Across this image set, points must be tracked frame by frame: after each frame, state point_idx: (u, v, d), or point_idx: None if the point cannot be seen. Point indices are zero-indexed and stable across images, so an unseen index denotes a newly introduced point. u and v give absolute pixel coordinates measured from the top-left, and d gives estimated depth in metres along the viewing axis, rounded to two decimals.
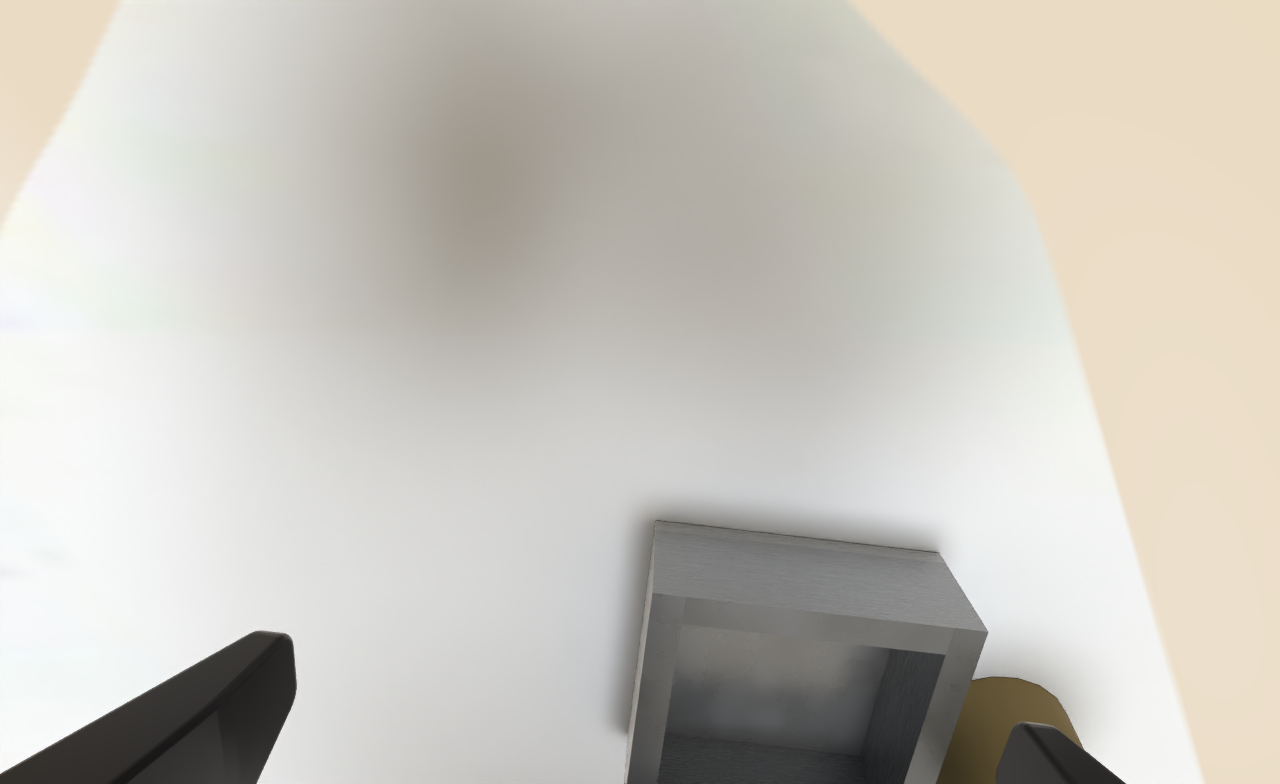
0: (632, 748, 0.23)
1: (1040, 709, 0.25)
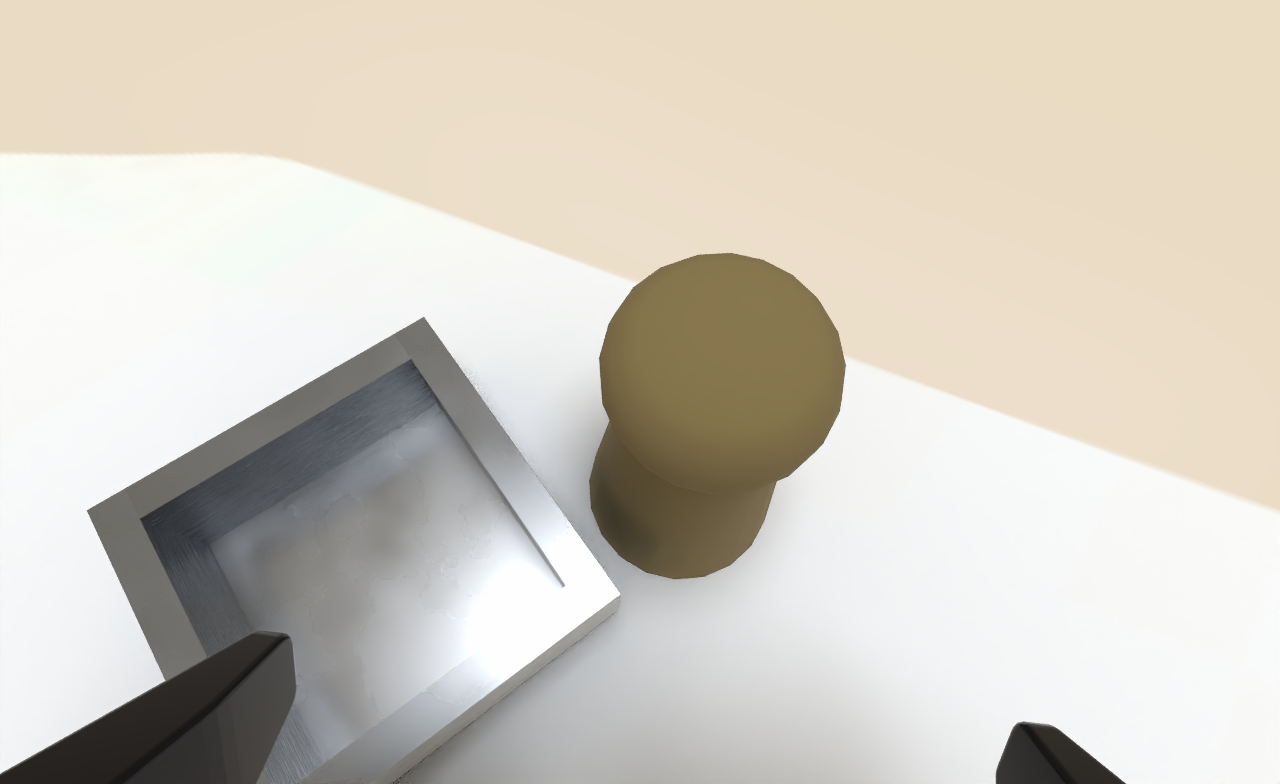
0: None
1: None
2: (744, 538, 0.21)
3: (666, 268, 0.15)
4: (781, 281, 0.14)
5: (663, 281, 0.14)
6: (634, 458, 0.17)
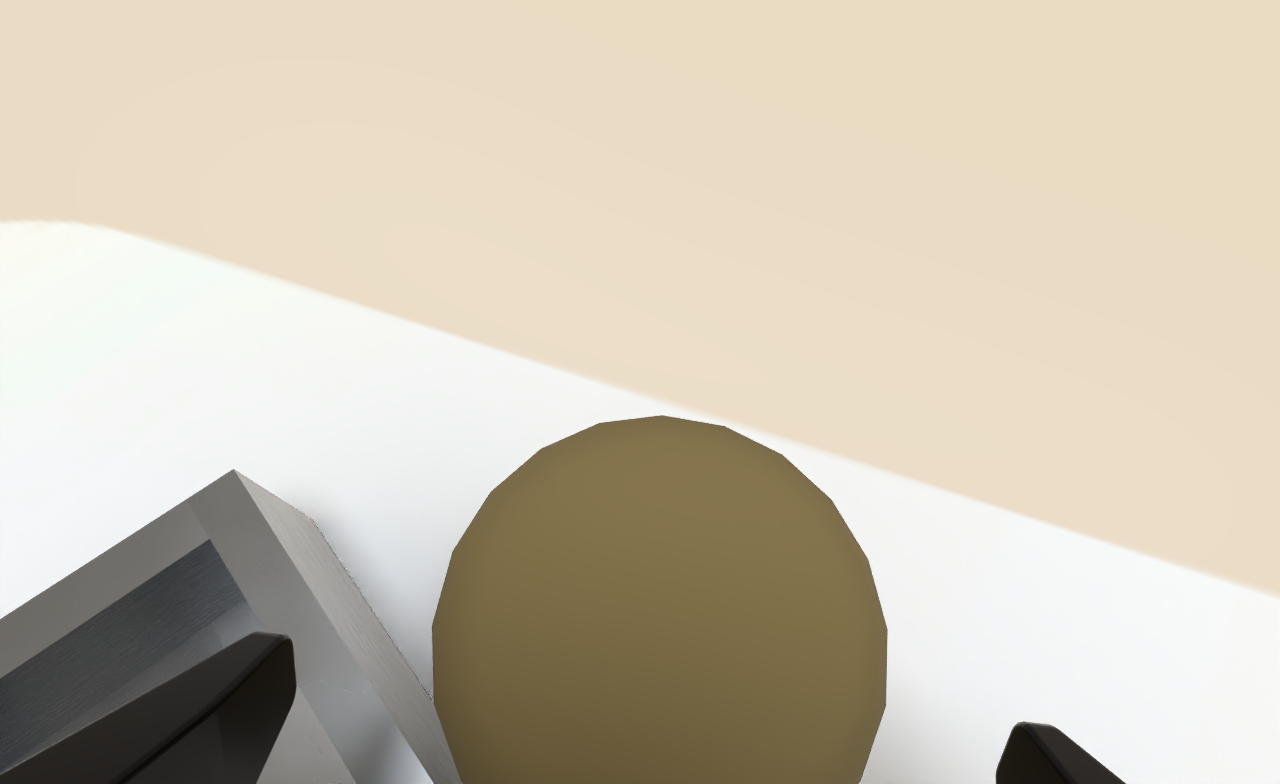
0: None
1: None
2: None
3: (544, 462, 0.08)
4: (760, 481, 0.08)
5: (535, 495, 0.07)
6: None
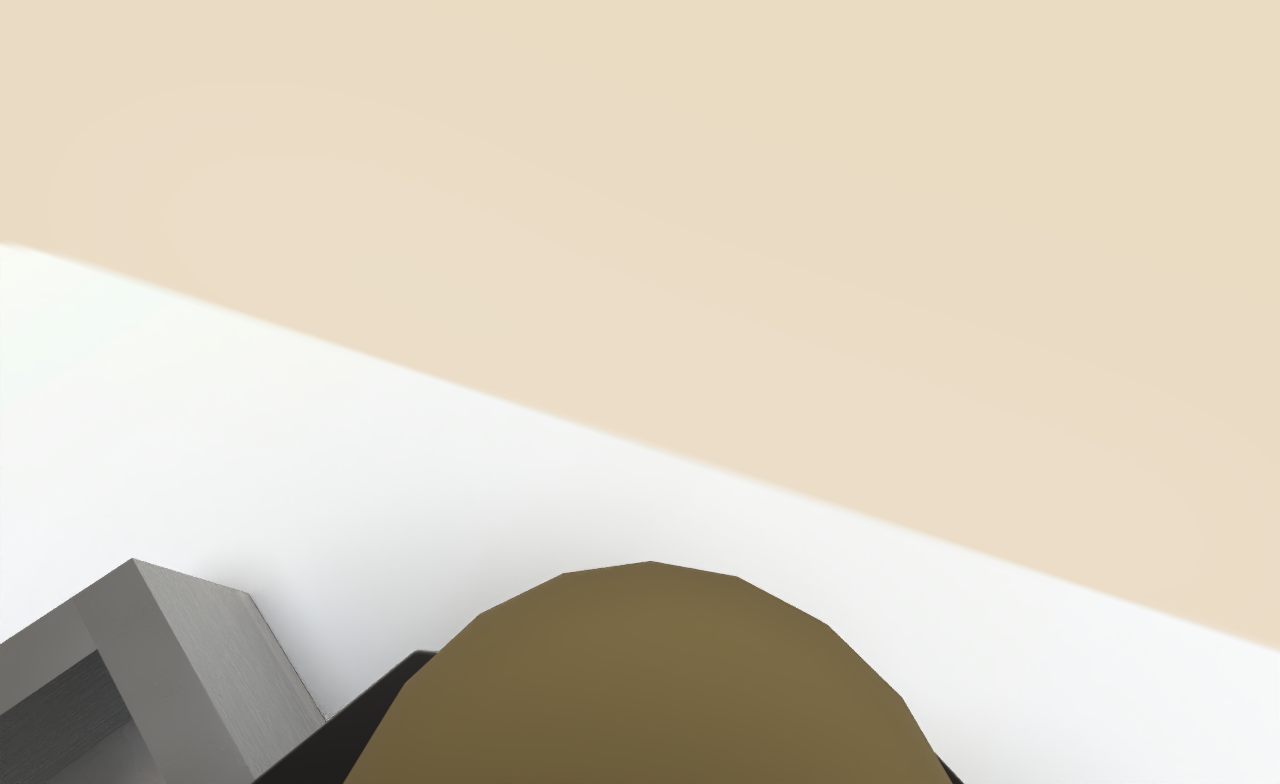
0: None
1: None
2: None
3: (475, 660, 0.05)
4: (803, 698, 0.05)
5: (457, 725, 0.05)
6: None
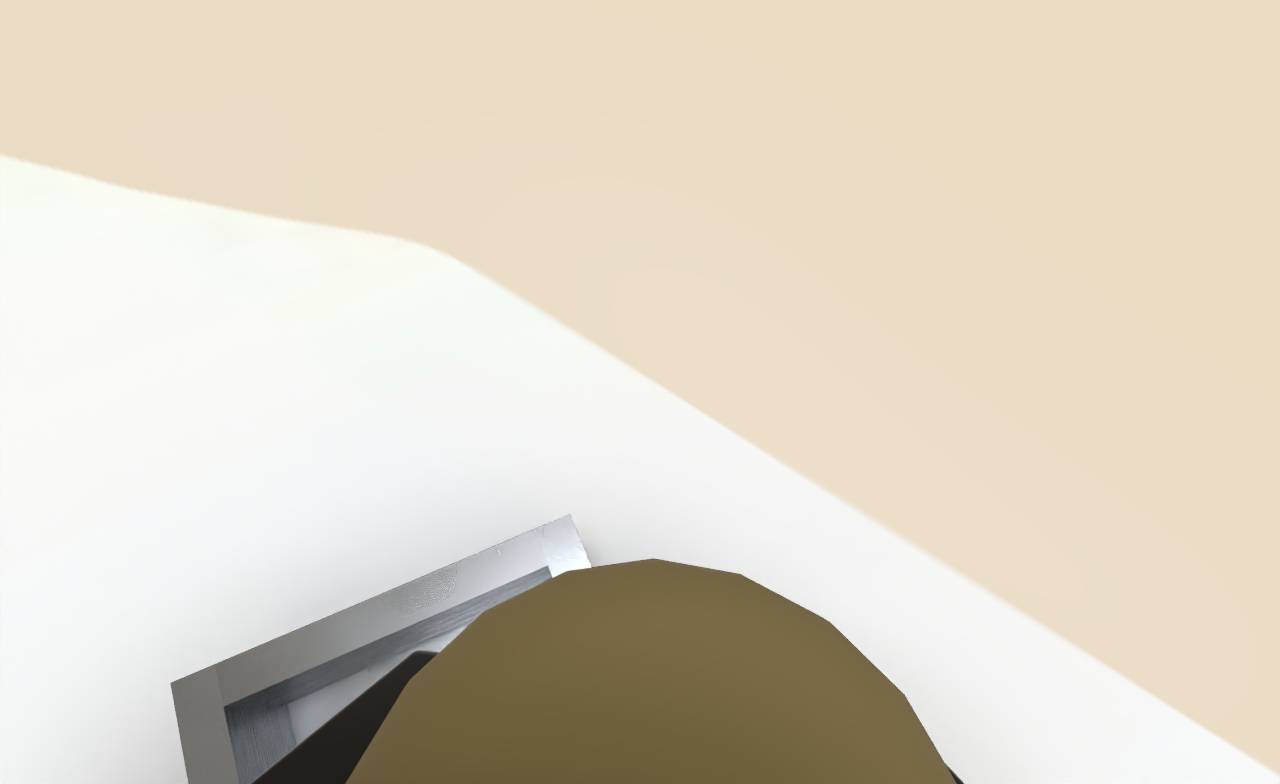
0: None
1: None
2: None
3: (479, 657, 0.05)
4: (803, 695, 0.05)
5: (460, 721, 0.05)
6: None
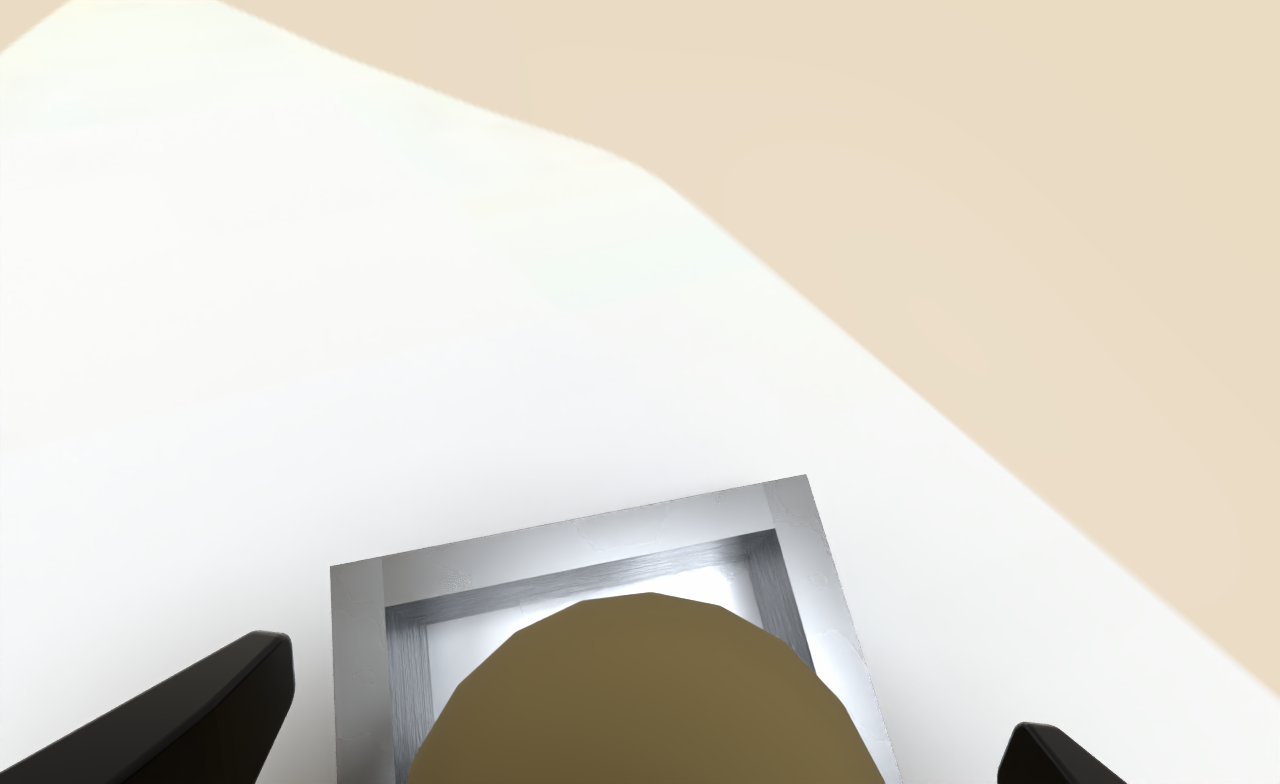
0: None
1: None
2: None
3: (516, 670, 0.07)
4: (762, 704, 0.07)
5: (503, 719, 0.06)
6: None
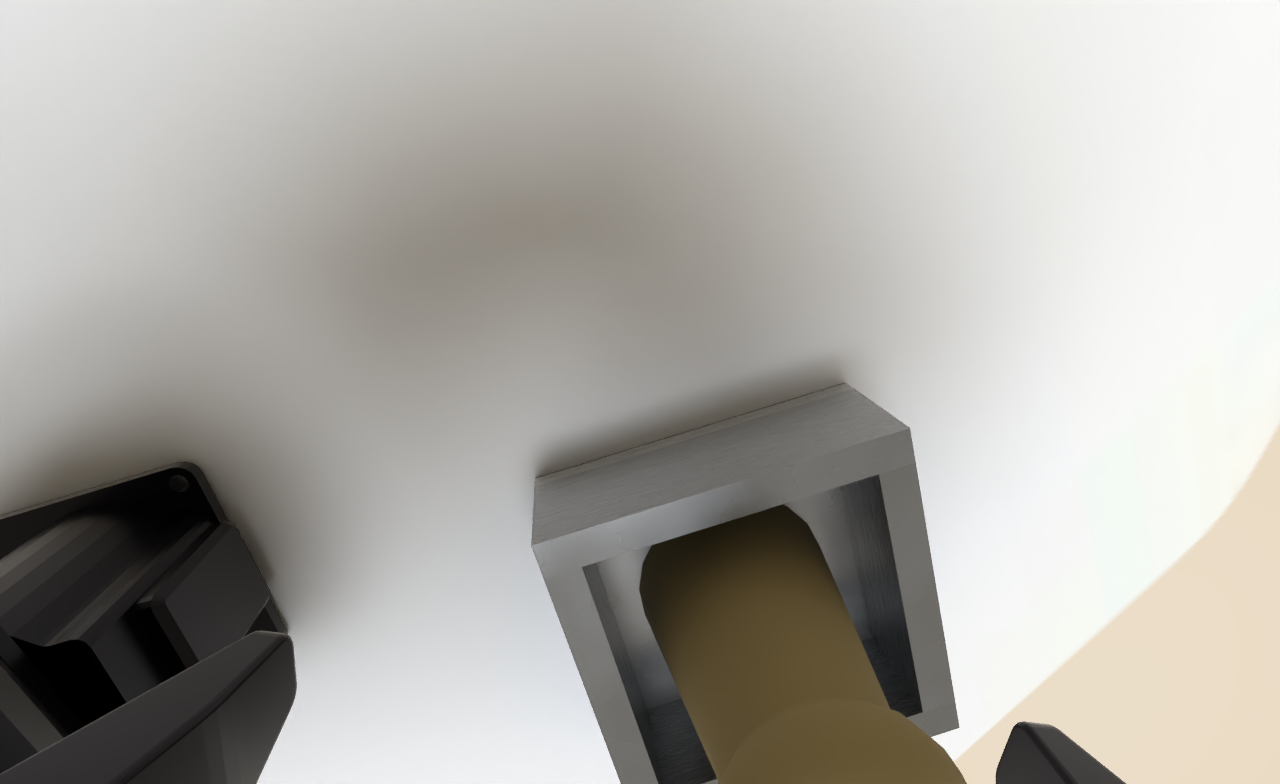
0: (677, 501, 0.18)
1: (822, 555, 0.21)
2: None
3: None
4: None
5: None
6: (748, 690, 0.15)
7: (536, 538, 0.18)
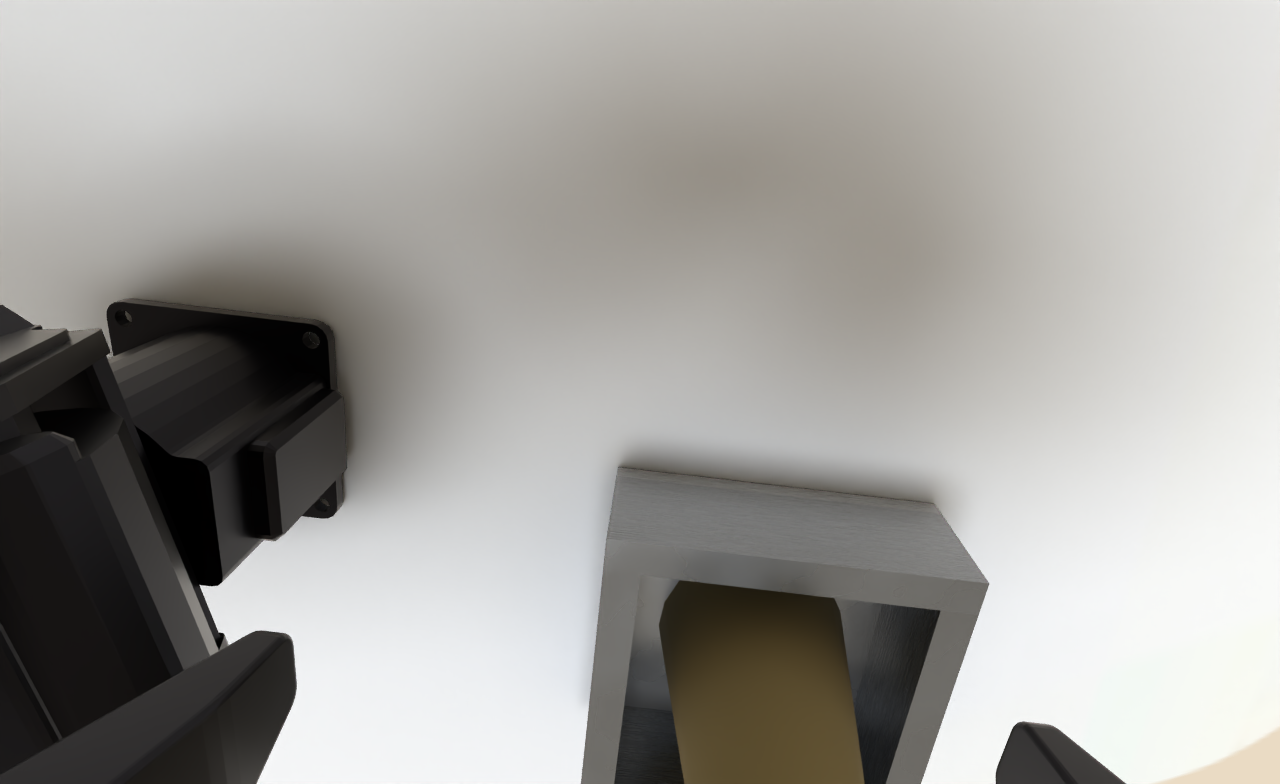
0: (752, 556, 0.18)
1: None
2: None
3: None
4: None
5: None
6: (755, 757, 0.16)
7: (612, 533, 0.19)
